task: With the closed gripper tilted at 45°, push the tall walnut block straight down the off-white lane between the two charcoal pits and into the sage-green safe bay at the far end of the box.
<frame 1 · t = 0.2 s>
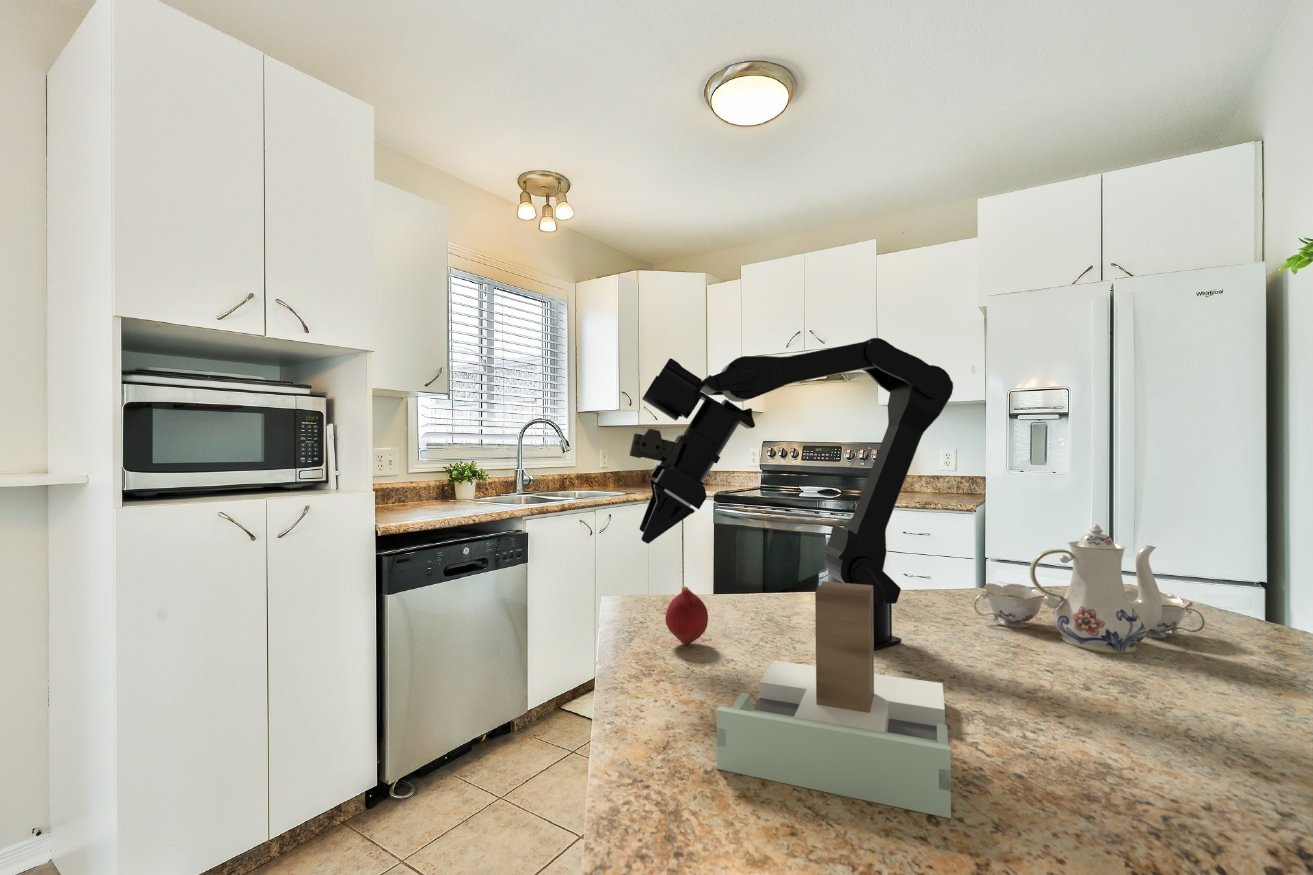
hand: (643, 536, 84), 15 cm above the countertop, tool tilted 35°, fingers open, 9 cm apart
walnut block: (845, 698, 62), point 2 cm above the countertop, touching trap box
onion: (687, 646, 85), on the countertop
chinaware: (1089, 638, 87), on the countertop
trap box: (841, 736, 58), on the countertop
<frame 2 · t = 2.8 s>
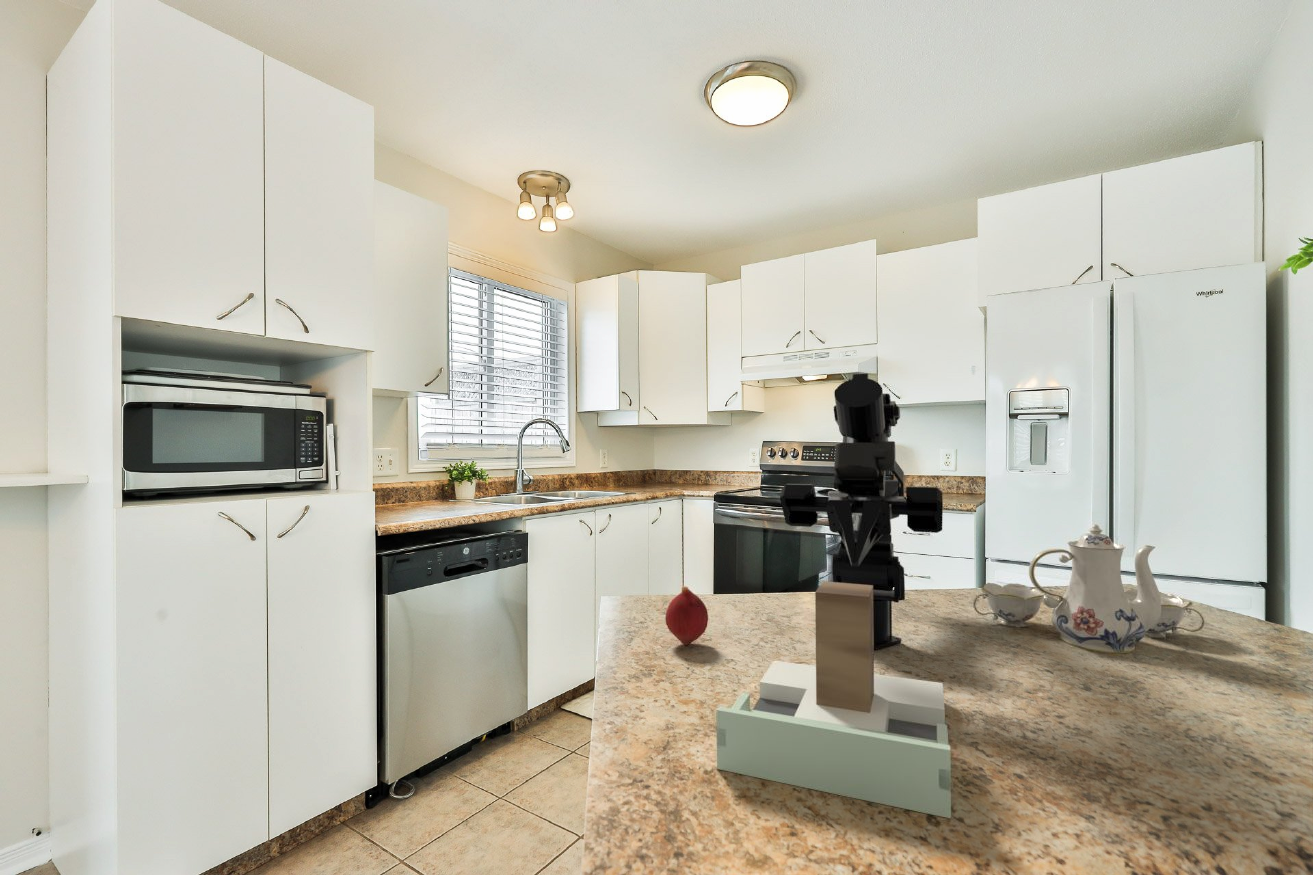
hand: (854, 563, 71), 14 cm above the countertop, tool tilted 45°, fingers closed
nothing on the countertop moved.
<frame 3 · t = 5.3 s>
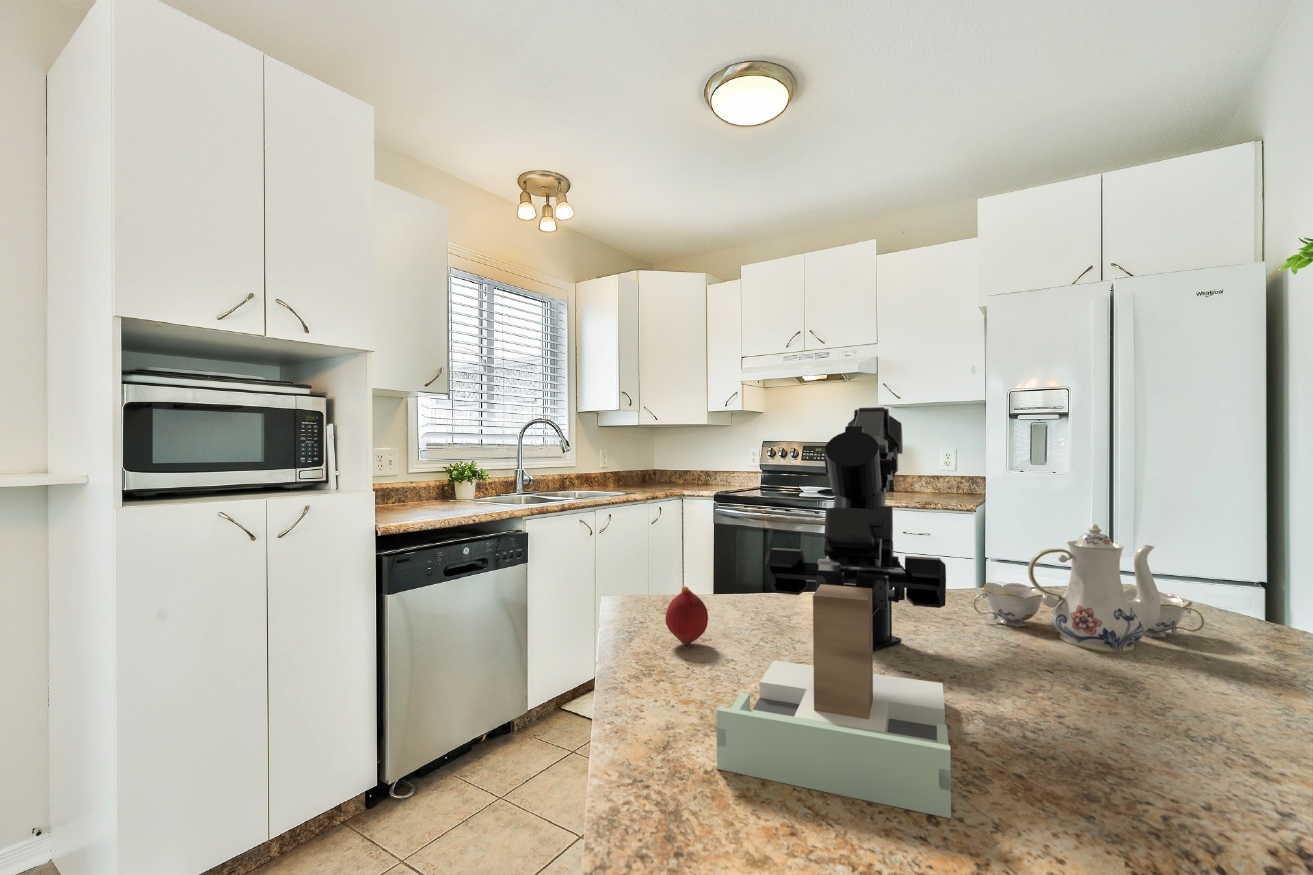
hand: (847, 646, 63), 7 cm above the countertop, tool tilted 45°, fingers closed
walnut block: (844, 704, 61), point 2 cm above the countertop, touching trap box
everything else where it was.
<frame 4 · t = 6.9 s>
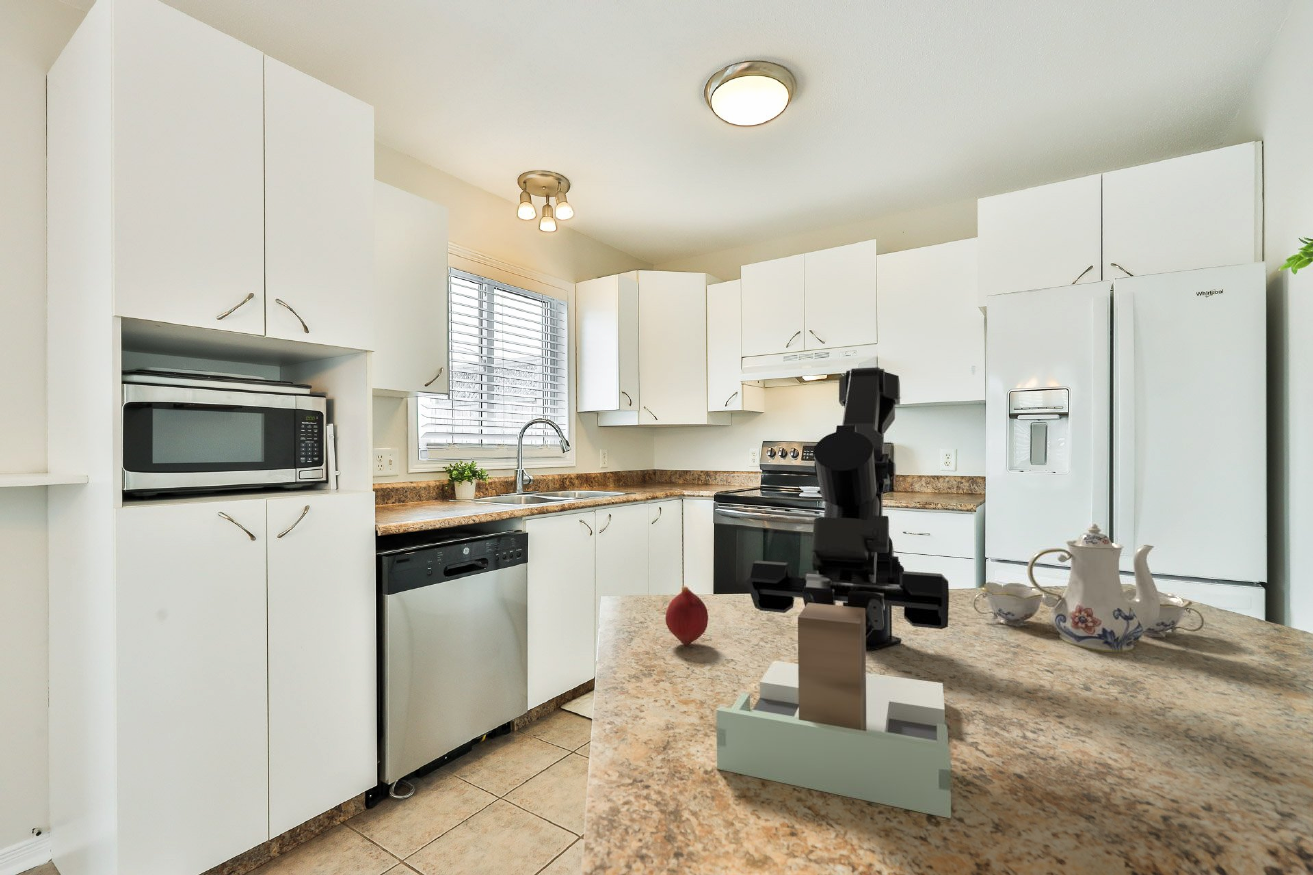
hand: (837, 674, 56), 7 cm above the countertop, tool tilted 45°, fingers closed
walnut block: (833, 740, 54), point 2 cm above the countertop, touching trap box
everything else where it was.
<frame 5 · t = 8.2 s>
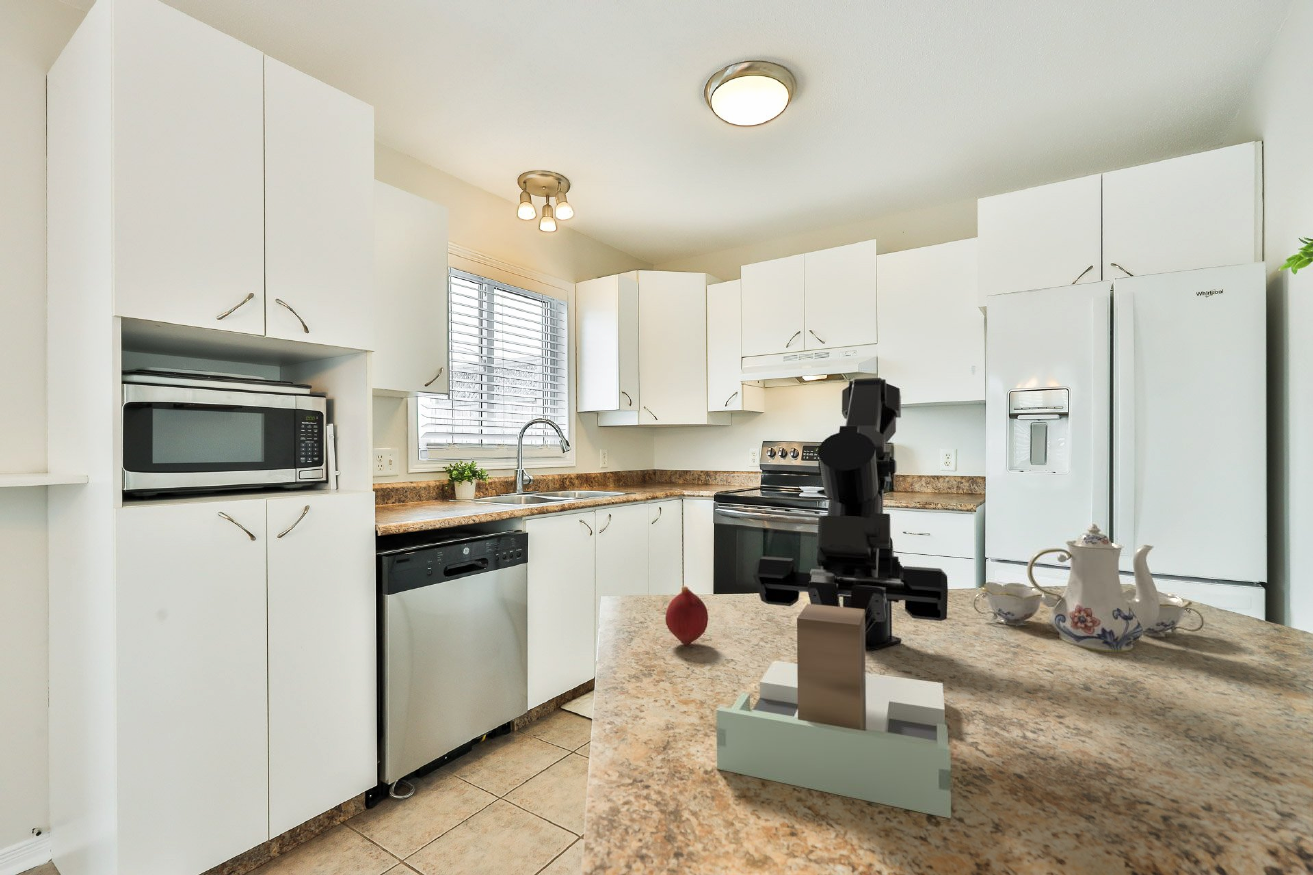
hand: (841, 664, 59), 7 cm above the countertop, tool tilted 45°, fingers closed
nothing on the countertop moved.
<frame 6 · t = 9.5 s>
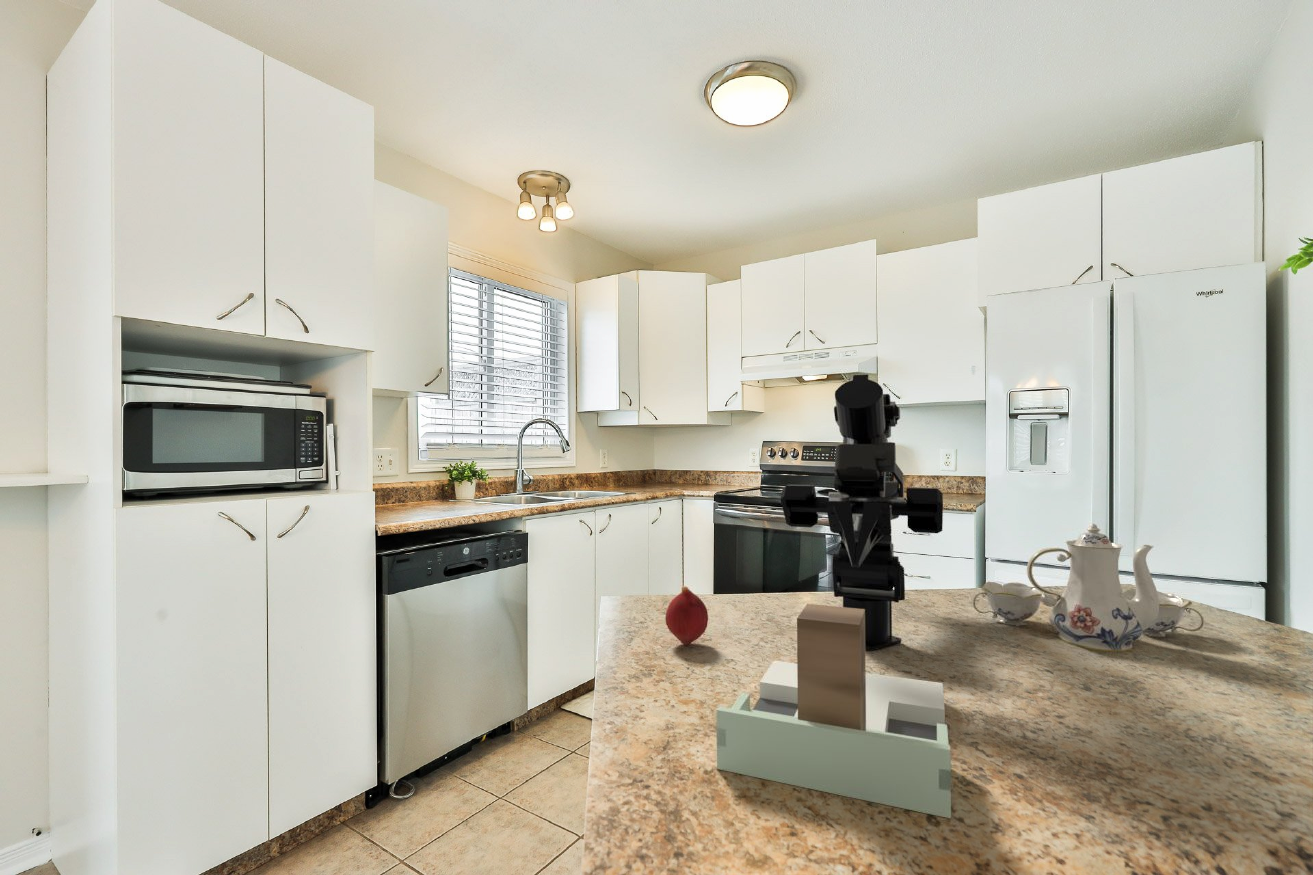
hand: (855, 564, 72), 13 cm above the countertop, tool tilted 45°, fingers closed
nothing on the countertop moved.
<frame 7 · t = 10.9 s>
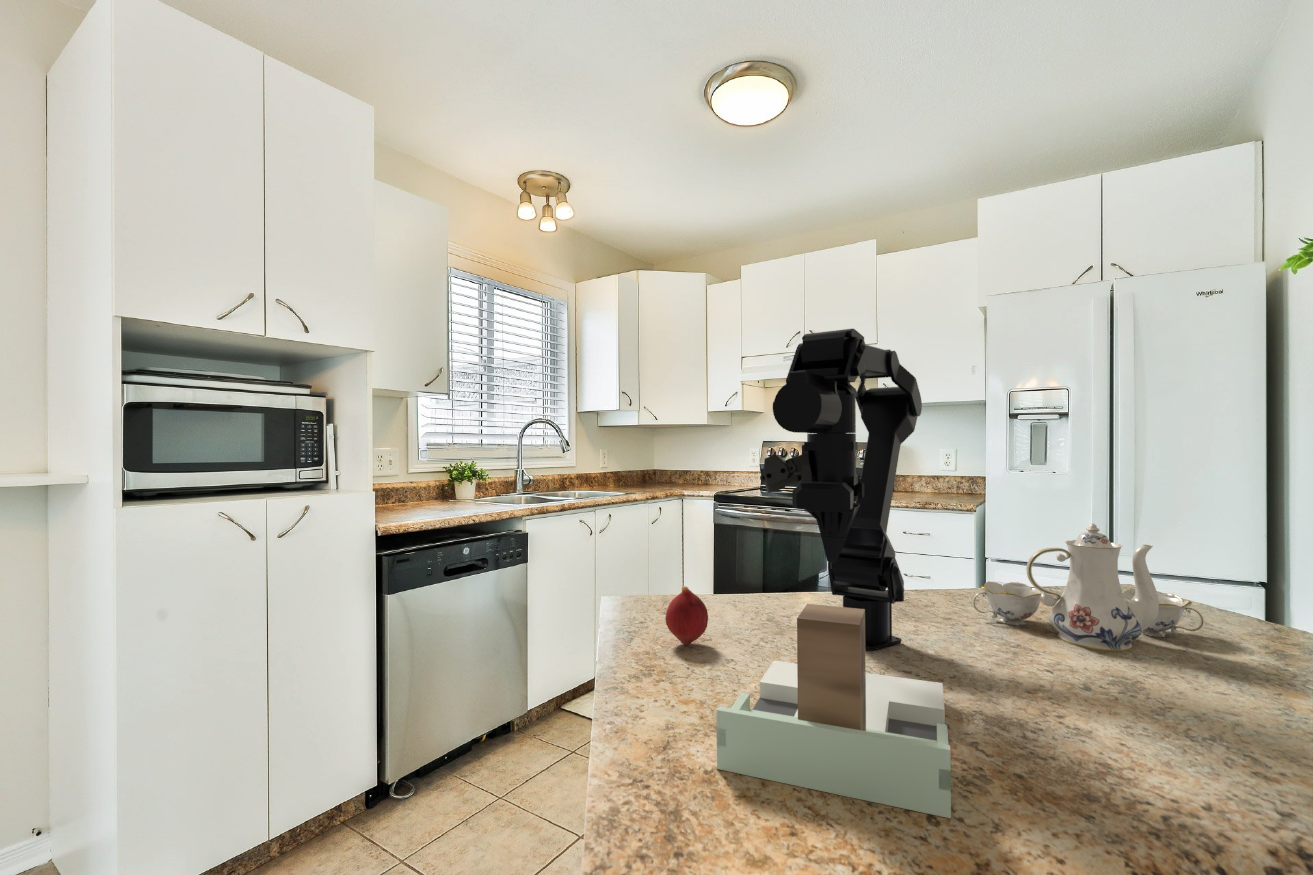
hand: (832, 561, 76), 13 cm above the countertop, tool pointing down, fingers closed
nothing on the countertop moved.
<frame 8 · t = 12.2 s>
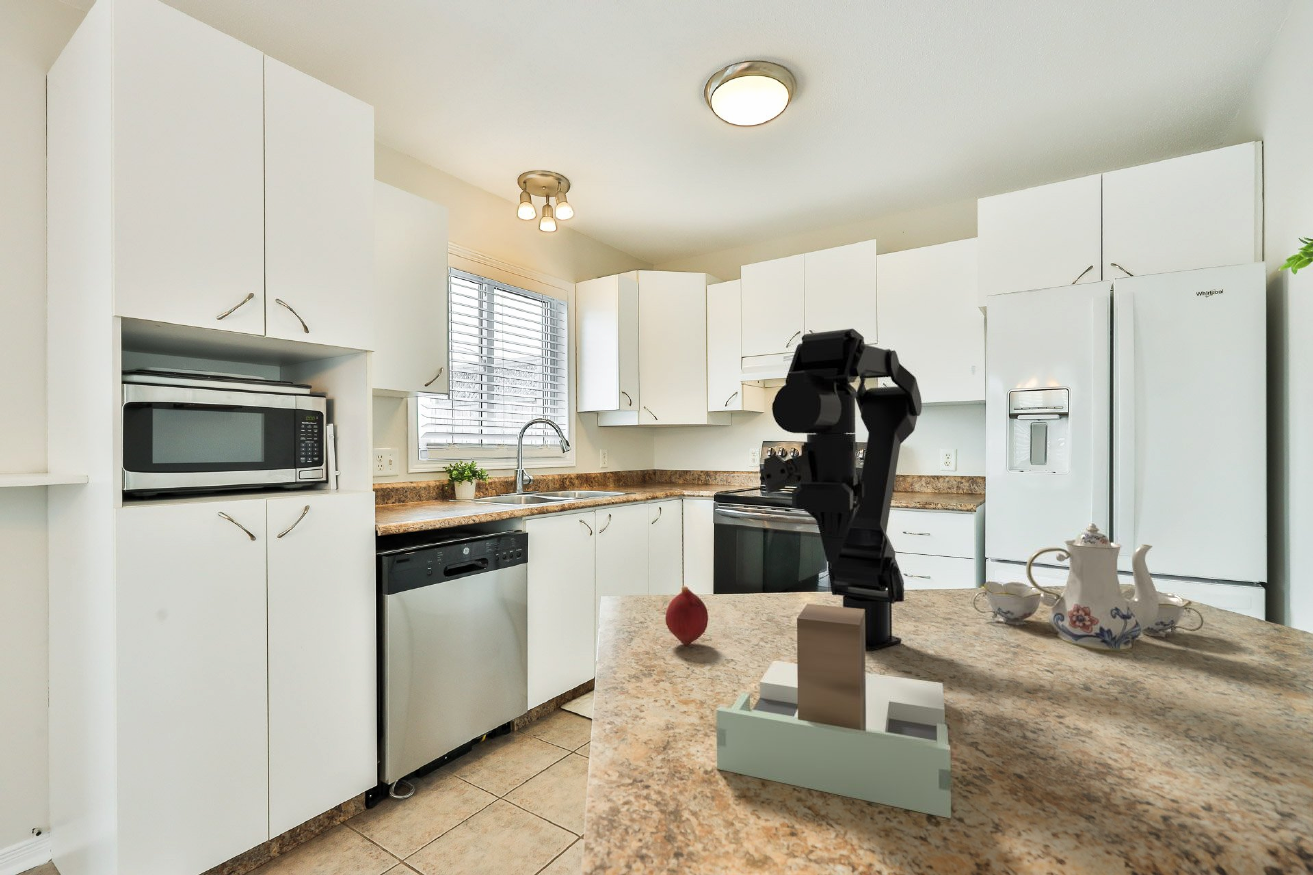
hand: (832, 562, 76), 13 cm above the countertop, tool pointing down, fingers closed
at the end: walnut block 0.1 cm from the target spot, point 2.0 cm above the countertop; walnut block tilted 0°; walnut block moved 9.7 cm from its start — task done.
